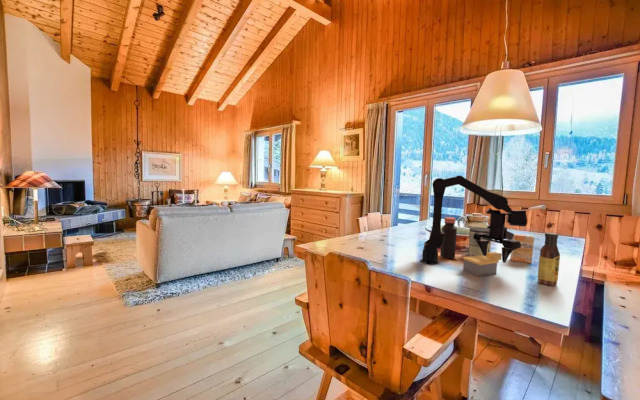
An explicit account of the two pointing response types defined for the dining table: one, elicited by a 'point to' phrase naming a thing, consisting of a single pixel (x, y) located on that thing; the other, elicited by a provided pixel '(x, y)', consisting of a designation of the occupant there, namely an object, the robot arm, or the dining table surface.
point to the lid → (485, 258)
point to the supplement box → (523, 248)
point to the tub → (480, 268)
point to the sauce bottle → (549, 261)
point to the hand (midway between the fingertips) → (494, 259)
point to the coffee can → (473, 245)
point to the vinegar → (449, 239)
